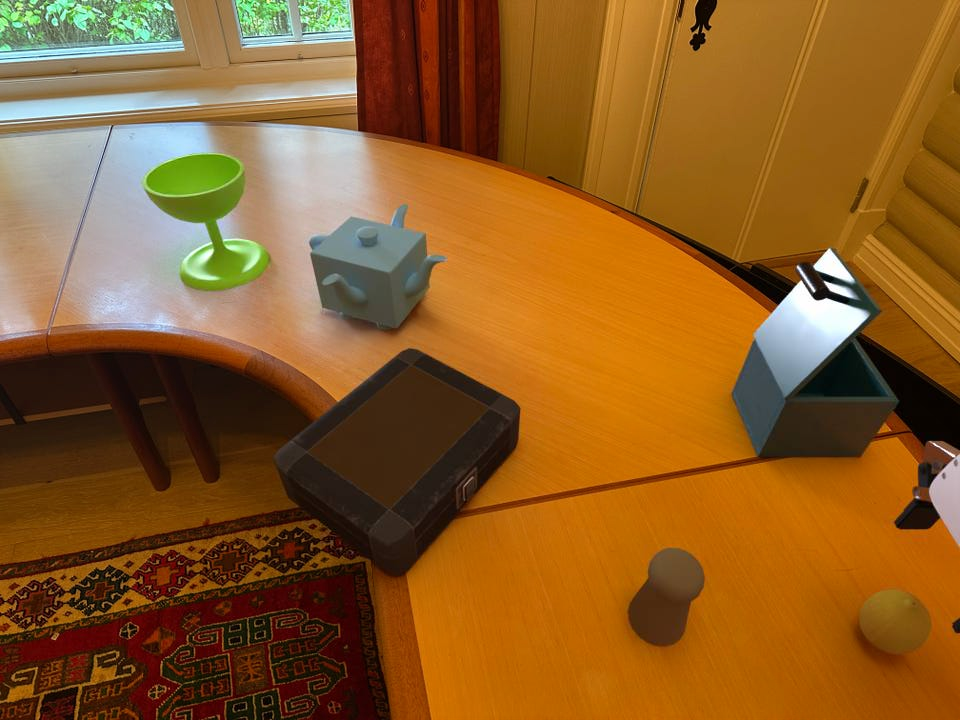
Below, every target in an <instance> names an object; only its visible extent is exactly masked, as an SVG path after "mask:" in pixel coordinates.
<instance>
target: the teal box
mask: <svg viewBox="0 0 960 720" xmlns="http://www.w3.org/2000/svg"><path fill="white" fill-rule="evenodd" d="M730 394H731V397H732V399H733V401H734V404H735V406H736V409H737V411H738V413H739V416H740V418H741V421H742V422H743V425H744V428H745V431H746V432H747V434H748V438H749V439H750V442H751V444H752V446H753V449H754V451H755V453H756V456H757V458H861V457H862V455H863V454H864V453H865V451H866V450H867V449H868V447H869V446H870V444H871V443H872V441H873V440H874V438H875V437H876V436H877V435H878V433H879V431H880V430H881V429H882V427H883V426H884V424H885V423H886V422H887V420H888V418H889V417H890V416H891V415H892V413H893V411H894V410H895V409H896V407H897V405H898V404H899V403H900V400H899V399H898V398H897V397H898V396H896V395H895V393H894V392H893V391H892V389H891V388H890V386H889V384H888V383H887V381H886V380H885V379H884V377H883V376H882V374H881V373H880V372H879V370H878V369H877V367H876V366H875V364H874V363H873V361H872V360H871V358H870V357H869V355H868V354H867V353H866V351H865V350H864V348H863V346H862V345H861V344H860V343H859V341H858V340H857V338H856V337H855V338H854V339H853V340H852V341H851V342H850V343H849V344H848V345H847V346H846V347H845V348H844V349H843V350H841V351H840V352H839V353H838V354H837V355H836V356H835V357H834V358H833V359H832V360H831V361H830V362H829V363H828V364H827V365H826V366H825V367H824V368H823V369H822V370H821V371H820V372H819V373H817V374H816V375H815V376H814V377H813V378H812V379H811V380H810V381H809V382H808V383H807V384H806V385H805V386H804V387H803V388H802V389H801V390H800V391H799V392H798V393H797V394H796V395H795V396H793V397H792V398H791V399H786V398H785V397H784V395H783V393H782V391H781V389H780V387H779V385H778V383H777V381H776V379H775V377H774V375H773V373H772V372H771V370H770V368H769V366H768V364H767V362H766V360H765V358H764V356H763V354H762V352H761V350H760V348H759V346H758V344H757V342H756V340H755V338H754V337H753V340H752V342H751V345H750V347H749V350H748V352H747V355H746V357H745V359H744V362H743V364H742V367H741V369H740V371H739V374H738V376H737V378H736V381H735V383H734V386H733V388H732V390H731V393H730Z"/></svg>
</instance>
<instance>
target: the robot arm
mask: <svg viewBox="0 0 960 720" xmlns="http://www.w3.org/2000/svg"><path fill="white" fill-rule="evenodd" d="M921 460H922V462H919V463H918V466H917V485H915V486H913V488H912V490H911V494H912V496H913V499H911V501H910V502H909V503H908V504H907V506H905V507H904V509H903V511H902V512H901V513H900V514H899V515H898V517H897V518H896V519H895V520H894V521H893V524H894V525H895V527H896V528H897V529H899V530H901V531H902V530H909V531H910V530H914V531H915V530H929V529H931V528H932V527H933V526H934V525H935V524H936V523H937V522H938V521H939V520H940V519H941V520H942V522H943V524H944V525H945V527H946V528H947V530H948V532H949V533H950V535H951V536H952V538H953V540H954V541H955V543H956V545H957V546H958V547H959V549H960V450H959V449H958V448H956V447H954V446H952V445H951V444H949V443H947V442H945V441H944V440H928V441H926V442H925V444H924V449H923V453H922V457H921ZM951 624H952V625H951V628H952V629H953V632H954V633H955V634H960V617H958V618H957V619H956V620H954V621H953V622H952V623H951Z"/></svg>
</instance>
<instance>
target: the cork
mask: <svg viewBox="0 0 960 720" xmlns="http://www.w3.org/2000/svg"><path fill="white" fill-rule="evenodd" d="M647 576H648V577H647V578H646V580H645V581H644V582H643V584H642V585H641V587H640V588H639V589H638V591H637V592H636V593H635V594H634V596H633V597H632V599H631V600H630V601H629V603H628V608H627V616H628V622H629V624H630V626H631V628H632V630H633V631H634V632H635V634H636V635H637V636H638V637H639V638H640V639H641V640H643V641H644V642H646V643H647V644H650V645H653V646H655V647H668V646H673V645H675V644H676V643H678V641H680V640H681V639H682V638H683V636H684V634H685V632H686V628H687V623H688V618H689V617H688V616H689V613H690V608H691V605H692V602H693V601H694V600H696V599H697V598H698V597H699V596H700V595H701V593H702V591H703V590H704V587H705V581H706V577H705V572H704V568H703V566H702V565H701V562H700V561H699V560H698V559H697V558H696V557H695V556H694V555H693V554H692V553H691V552H689V551H688V550H686V549H682V548H679V547H667V548H663V549H661V550H659V551H657V552H655V554H654V555H653V557H652V558H651V559H650V561H649V564H648V569H647Z"/></svg>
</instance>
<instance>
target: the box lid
mask: <svg viewBox="0 0 960 720" xmlns="http://www.w3.org/2000/svg"><path fill="white" fill-rule="evenodd" d="M794 271H795V274H796V276H797V277H798V278H799V280H800V281H799V282H798V283H797V284H796V285H795V286H794V287H793V288H792V289H791V291H790V292H789V293H788V295H786V297H784V299H783V300H782V301H781V302H780V303H779V304H778V305H777V307H776V308H775V309H774V310H773V311H772V312H771V314H770V315H769V316H768V317H767V318H765V320H764V321H763V322H762V324H761V325H760V326H759V327H758V328H757V329H756V330H755V331H754V333H753V334H752V336H753V339H754V338H755V340H756V342H757V344H758V346H759V348H760V350H761V352H762V354H763V356H764V358H765V360H766V362H767V364H768V366H769V368H770V370H771V372H772V373H773V375H774V377H775V379H776V381H777V383H778V385H779V387H780V389H781V391H782V393H783V395H784V397H785V398H786V399H791V398H792V397H793V396H795V395H796V394H797V393H798V392H799V391H800V390H801V389H802V388H803V387H804V386H805V385H806V384H807V383H808V382H809V381H810V380H811V379H812V378H813V377H814V376H815V375H816V374H817V373H819V372H820V371H821V370H822V369H823V368H824V367H825V366H826V365H827V364H828V363H829V362H830V361H831V360H832V359H833V358H834V357H835V356H836V355H837V354H838V353H839V352H840V351H841V350H843V349H844V348H845V347H846V346H847V345H848V344H849V343H850V342H851V341H852V340H853V339H854V338H856V337H857V336H858V335H860V334H861V333H862V332H863V331H864V330H865V329H866V328H867V327H868V326H869V325H870V324H871V323H872V322H873V321H874V320H875V319H876V318H877V317H878V316H879V315H880V314H881V313H883V310H882V308H881V307H880V305H879V304H878V302H876V300H875V298H873V296H872V295H871V294H870V292H869V291H868V289H866V288H865V286H864V285H863V284H862V282H861V281H860V279H859V278H858V277H857V276H856V275H855V273H854V272H853V271H852V270H851V268H850V266H848V264H847V263H846V261H845V260H844V259H843V258H842V256H841V255H840V254H839V252H837V250H836V249H835V248H831V247H829V248H828V249H827V250H826V251H825V252H824V253H823V255H821V257H820V258H819V259H818V260H817V261H816V262H815V264H812V263H811V262H809V261H803V262H800V263H799V264H797V266H796V267H795V270H794Z"/></svg>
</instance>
